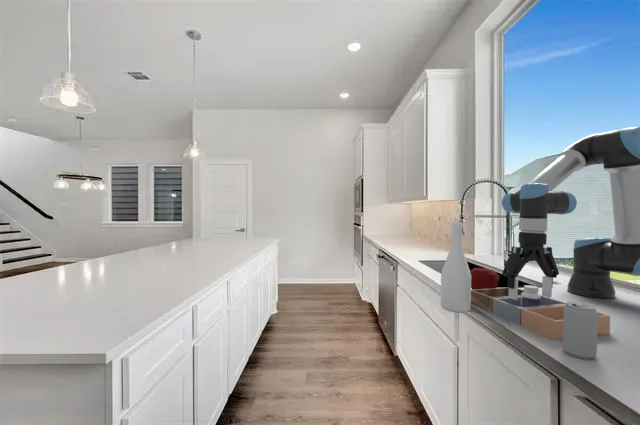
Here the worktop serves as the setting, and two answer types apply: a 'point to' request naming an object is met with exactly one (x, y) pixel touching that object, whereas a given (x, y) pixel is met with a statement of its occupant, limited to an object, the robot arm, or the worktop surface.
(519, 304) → the slate bin
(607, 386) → the worktop surface
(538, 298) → the pill bottle
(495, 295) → the walnut bin
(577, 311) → the beverage can
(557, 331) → the terracotta bin
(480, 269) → the apple
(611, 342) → the worktop surface
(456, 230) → the wine bottle
